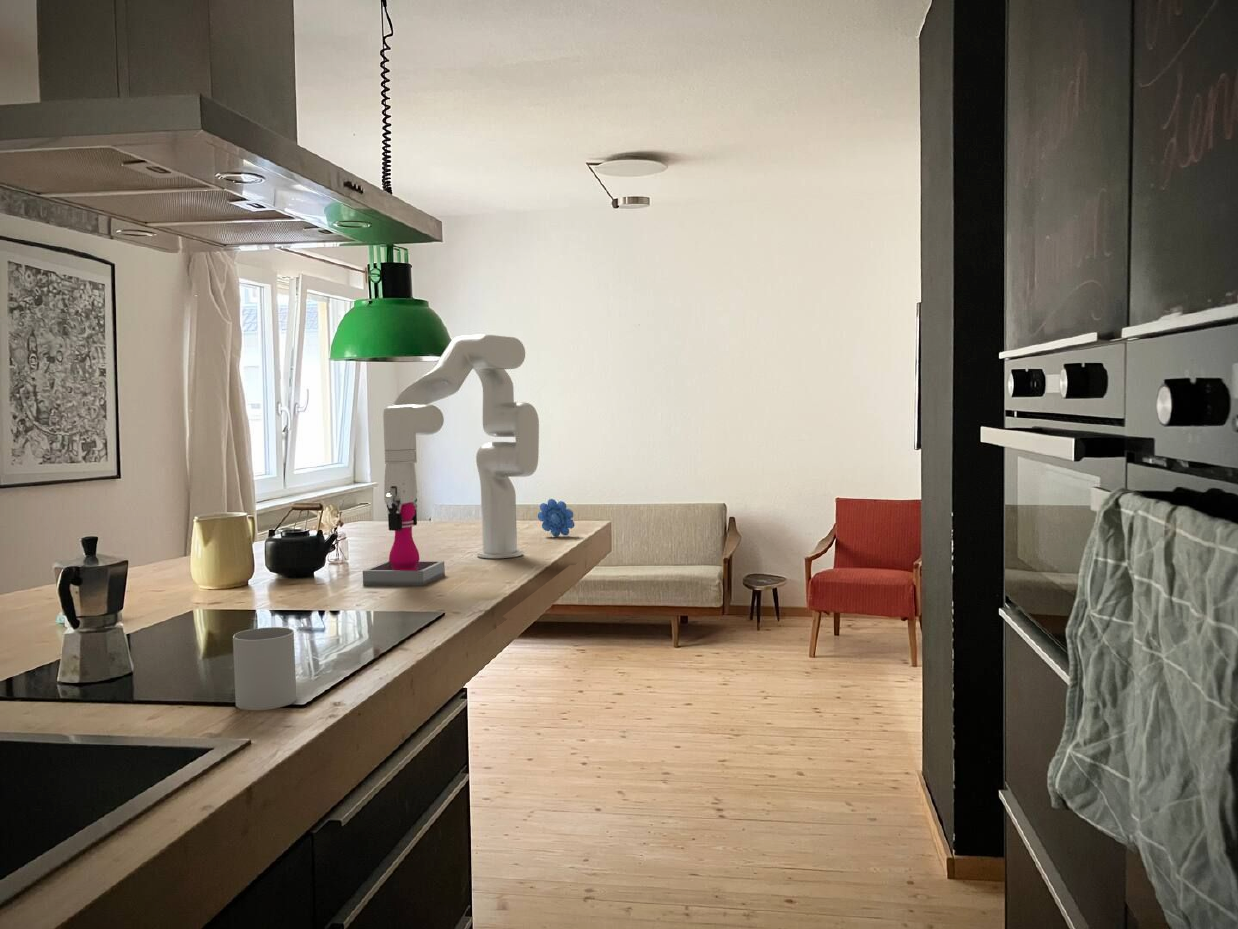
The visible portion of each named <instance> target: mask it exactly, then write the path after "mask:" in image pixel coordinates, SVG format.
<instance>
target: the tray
mask: <svg viewBox="0 0 1238 929" xmlns="http://www.w3.org/2000/svg"><path fill="white" fill-rule="evenodd" d="M415 567H416V568H418V571H412V570H392V569H394V567H393V566H392V565H391V563H390V562H389V560H386V561H384V562H381V563H378V564H376V565H374V566H372V567H368V568H367V569H364V570H362V586H366V587H367V586H368V587H369V586H373V587H374V586H375V587H376V586H378V587H379V586H380V587H381V586H382V587H383V586H385V587H392V586H393V587H425V586H427V585H428V584H430V583H432V582H434V581H437V580H438V579H441V578H442V577H444V576H446V574H445V573H446V572H445V568H446V567H445V560H439V561H438V560H419V562H418V563H417V564H416V566H415Z"/></svg>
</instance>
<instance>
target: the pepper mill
mask: <svg viewBox="0 0 1238 929" xmlns="http://www.w3.org/2000/svg"><path fill="white" fill-rule="evenodd" d="M396 507H397V506H396ZM400 514H402V530H400V531H394V541H393V543H392V545H391V546H392V547H391V550H390V551H389V556H388V561H389V562H390V563H391V565H392V566H393V567H394V569H392V570H412V571H418V568H416V567H415V566H416V564H417V563H418V562H419V561H420V553H419V550H418V548H417V546H416V543H415V541H414V538H413V532H412V531H413V527H414V526H415V525H414V524H413V522H414V521H413V520H412V518H413V517H414V515H415V507H414V505H413V504H412V503H411V502H409V503H407V504H405V505H402V507H401V511H400Z"/></svg>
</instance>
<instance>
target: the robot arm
mask: <svg viewBox="0 0 1238 929" xmlns="http://www.w3.org/2000/svg"><path fill="white" fill-rule="evenodd" d="M525 359H526V348H525V345H524V344H523V342H522V341H521V340H520V339H518V338H517V337H513V336H505V335H496V334H495V335H494V334H472V335H469V334H468V335H460V336H456V337H454V338H452V340H450V342H449V344H447V346H446V347H445V349H444V351H443V352H442V354H441V355H440V357H439V359H438V360H437V361H436V363H435V364H434V366H433V367H432V369H431V370H430V371H429V372H427V373H426V374H424V375H423V376H421V377H419V378H418V379H416V380H415V381H413V382H412V383H410V384H408V385H407V386H406V387H405V388H404V389H403V390H401V392H399V394H398V395H397V397H396V398H395V399H394V401H393V403H392V404H391V405H389V406H386V407H385V408H383V415H382V417H383V418H382V419H383V420H382V421H383V441H384V442H383V444H384V464H385V467H384V468H385V469H384V484H383V485H384V486H383V487H384V488H383V489H384V490H383V491H384V497H383V499H384V504H386V509H387V518H388V519H387V520H388V522H387V523H388V525H387V526H388V530H389V531H392V532H393V531H394V532H395V531H400V530H402V514H400V511H401V507H402V505H405V504H407V503H409V502H411V503H412V504H413V505H414V507H415V515H414V517H413V518H412V520H413V521H414V522H413V524H414V526H417V525H418V516H417V515H418V514H417V512H418V511H417V508H418V504H417V501H418V498H417V496H418V490H417V488H418V487H417V473H416V465H415V464H416V463H418V462H417V460H418V459H417V436H430V435H434V434H436V433H438V432H439V431H440V430H441V429H442V427H443V425H444V423H445V422H444V420H445V418H444V413H443V412H442V411H441V409H440V408H439V407H437V406H435V405H432V403H433V402H436V401H439V400H442V399H446V398H448V397H450V396H452V395H454V394H456V393H457V392H458V391H460V389H461V387H462V385H463V384H464V382H465V381H466V379H467V378H468V376H469V374H470V373H471V372H472V370H473V371H474V372H475V373H476V375H477V377H478V378H479V379H480V382H481V386H482V387H481V388H482V428H483V431H484V433H485V434H486V435H487V436H490V437H494V438H495V437H496V438H515V441H492V442H487V443H484V444H482V445H481V446H480V447H479V448H478V450H477V452H476V455H475V459H476V466H477V473H478V477H479V483H480V502H481V503H480V505H481V507H480V508H481V533H482V534H481V536H482V541H481V542H482V550H481V549H480V550H479V551H477V553H476V554H477V557H478V558H481V559H510V558H516V557H521V556H522V555H523V554H524V552H523V551H524V550H522V549H520V548H518V542H517V541H518V537H517V536H518V534H517V531H518V530H517V505H516V504H517V503H516V502H517V501H516V500H517V499H516V498H517V496H516V490H515V486H514V484H513V483H512V480H511V479H510V478H509V477H512V478H513V477H515V478H517V477H518V478H519V477H520V478H525V477H526V478H527V477H530V476H532V475H533V474H534V473H535V472H536V471H537V469H538V465H539V454H540V453H539V451H540V450H539V448H540V447H539V446H540V444H539V443H540V440H539V439H540V420H539V415H538V411H537V410H536V408H535V407H534V405H532V404H531V403H529V402H521V401H519V402H518V401H515V397H514V392H515V390H514V389H515V388H514V382H513V380H512V377H511V376H510V374H508V372H507V370H516V369H519V368H520V367H521V366H522V365H523V363H524V361H525ZM396 506H397V507H396Z"/></svg>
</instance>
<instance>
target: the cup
mask: <svg viewBox="0 0 1238 929" xmlns="http://www.w3.org/2000/svg"><path fill="white" fill-rule="evenodd" d="M232 646H233V647H232V648H233V649H232V650H233V673H234V674H233V675H234V691H235V692H234V694H235V707H237V708H238V709H240V710H244V711H267V710H273V709H278V708H279V709H280V708H283V707H286V706H289V705H292V704H293V703H295V702H296V701H297V676H296V673H297V672H296V654H295V651H296V650H295V632H294V629H292V628H289V627H278V626H276V627H275V626H273V627H269V626H268V627H267V626H266V627H259V628H251V629H247V630H242V631H239V632H237V633H234V634H233V636H232Z"/></svg>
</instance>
